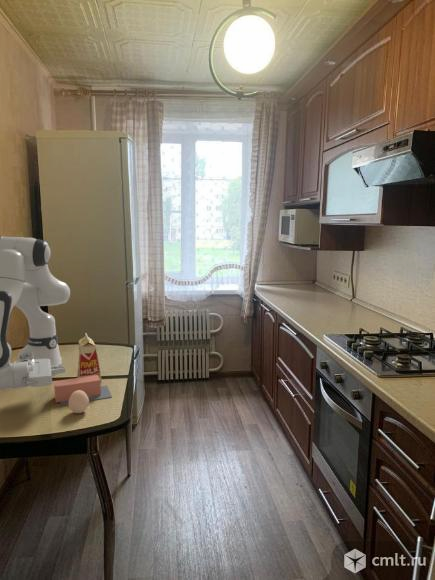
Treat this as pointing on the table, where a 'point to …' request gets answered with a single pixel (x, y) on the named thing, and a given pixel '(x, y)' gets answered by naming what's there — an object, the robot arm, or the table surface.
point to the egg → (78, 401)
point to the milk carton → (88, 359)
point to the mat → (104, 394)
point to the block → (77, 387)
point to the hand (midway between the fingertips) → (64, 369)
